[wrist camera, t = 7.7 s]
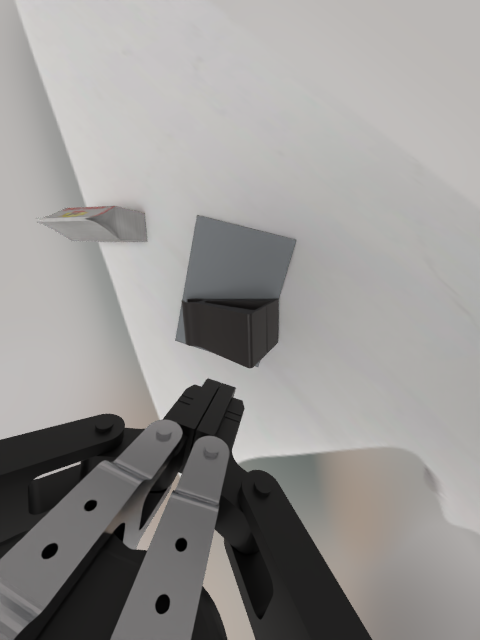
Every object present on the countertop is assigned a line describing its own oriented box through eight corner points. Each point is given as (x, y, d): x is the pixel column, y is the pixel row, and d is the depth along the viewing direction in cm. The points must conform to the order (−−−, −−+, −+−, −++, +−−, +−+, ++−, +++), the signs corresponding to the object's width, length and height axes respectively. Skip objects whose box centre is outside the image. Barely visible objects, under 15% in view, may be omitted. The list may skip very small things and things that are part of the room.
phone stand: (250, 314, 25) (160, 306, 31) (251, 369, 27) (166, 352, 32) (279, 298, 33) (203, 294, 38) (278, 341, 34) (206, 331, 40)
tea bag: (147, 241, 35) (94, 238, 26) (105, 241, 37) (39, 239, 27) (144, 213, 34) (88, 199, 25) (101, 214, 36) (32, 202, 26)
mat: (296, 240, 31) (296, 239, 31) (258, 365, 37) (258, 367, 36) (198, 215, 33) (197, 214, 32) (177, 339, 38) (175, 340, 38)
